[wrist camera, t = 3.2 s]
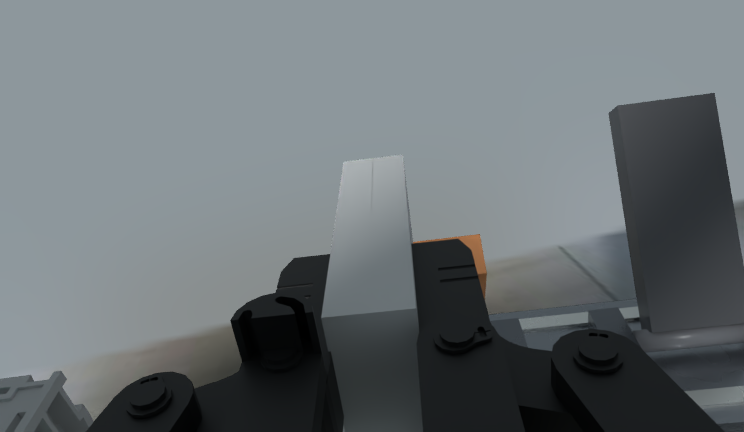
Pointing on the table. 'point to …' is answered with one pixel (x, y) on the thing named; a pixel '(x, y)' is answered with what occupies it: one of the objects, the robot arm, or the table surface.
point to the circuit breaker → (40, 406)
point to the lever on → (679, 223)
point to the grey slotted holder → (684, 366)
